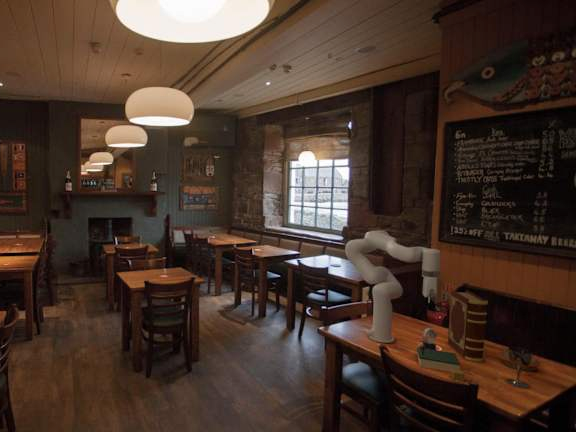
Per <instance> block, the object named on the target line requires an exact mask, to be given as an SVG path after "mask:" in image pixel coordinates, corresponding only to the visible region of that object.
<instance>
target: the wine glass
mask: <svg viewBox="0 0 576 432" xmlns="http://www.w3.org/2000/svg"><path fill="white" fill-rule="evenodd" d="M507 351H508V355H509V360H510V362H511V363H512V365H513V366H514V367H515V368H516V369H515V370H516V379H508V380H507V381H506V382H507V383H508V384H509V385H511V386H513V387H516V388H520V389H529V388H530V387H529V384H527V383H526V382H523V381H521V380H520V376H521V374H522V373H521V372H523V369H525V368H526V367H528V366H529V365H530V363H531V361H532V357H533V351H532V350H530V349H527V348H523V347H520V346H509V347H508V350H507Z"/></svg>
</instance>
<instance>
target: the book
mask: <svg viewBox="0 0 576 432" xmlns="http://www.w3.org/2000/svg"><path fill="white" fill-rule="evenodd" d="M417 359H418V363H419V367H421V368H425V369H431V370H436V371H441V372H448V373H452V369H458V370H461V364H460V365H454V364H448V363H442V362H436V361H431V360H425V359H419V356H418V355H417Z"/></svg>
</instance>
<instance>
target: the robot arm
mask: <svg viewBox="0 0 576 432" xmlns="http://www.w3.org/2000/svg"><path fill="white" fill-rule="evenodd" d="M378 249H379V250H382V251H384V252H386V253H388V255H389V256H391V257H392V258H394V259H396V260H399V261H401V262H405V263H415V262H416V263H417V262H422V263H421V277H423V281H422V291H421V292H422V296H424V301H423V303H424V306H426V307H427V311H428V312H436V298H437V296H438V295H437V293H438V279H440V277H441V256H442V255H441V254H442V253H441V251H440V250H439V249H437V248H428V247H425V246H409V247H408V246H407V247H406V246H405V245H401V244H399V243H398V239H396V237H393V236H391V235H389V233H388V232H387V231H386V230H382V229H381V230H377V229H376V230H370V231H368V232H366V233H365V235H364V237H363V238H355V239H351V240H349V241H348V242H347V243H346V245H345V248H344V252H345V256H346V258H347V259H348V261H349V262H350V263H351V264H352V265H353V267H354V268H355V269H356V271H357V272H358V273H359V274H360V276H361V277H362V278H363V280H364V281H365V282H366V283H367V284H369V285H374V286H373V287H372V292H371V293H372V294H371V295H372V300H373V302H372V303H373V305H372V306H373V309H372V310H373V311H372V327H371V328H370V329H367V328H363V333H365V334H367V335H368V337H369V339H370V340H372V341H374V342H377V343H381V344H391V343H394V342H395V337H394V336H392V331H393V330H392V328H393V327H392V326H393V304H392V302H391V300H396V299H399V298H401V296H403V293H404V289H403V287H402V285H401V283H400V282H399V280H398V279H397V278H396V277H395V276H394V274H393V273H392V272H391V271H390V270H389V269H388V268H387V267H386V266H380V265H379V266H375V265H374V264H372V262H371V261H370V260H369V259H368V258H367V257H366V256H364V255H363V254H368V253H372V252H374V251H377V250H378Z"/></svg>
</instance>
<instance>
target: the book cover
mask: <svg viewBox="0 0 576 432" xmlns="http://www.w3.org/2000/svg"><path fill="white" fill-rule="evenodd" d="M421 342H422V341H421ZM421 342H420V345H421V347H422V348H420V347H419V346H417V347H416V351H417V352H416V353H417V357H418V356H419V359H425V360H431V361H436V362H442V363H448V364H454V365H460V366H461V363H460V360H459V359H458V356H457V354H456V353H455V352H449V351H444V350H437V349H436V350H432V349H425V344H424V343H423V342H422V343H421Z"/></svg>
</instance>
